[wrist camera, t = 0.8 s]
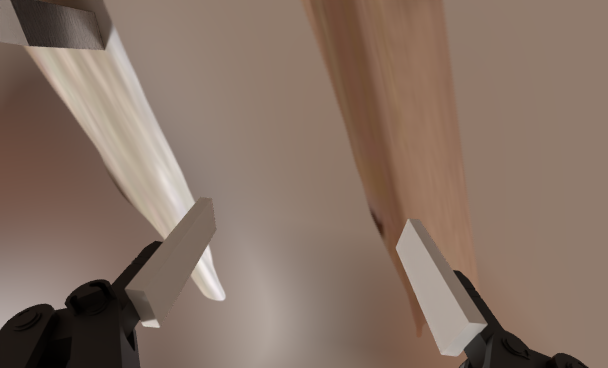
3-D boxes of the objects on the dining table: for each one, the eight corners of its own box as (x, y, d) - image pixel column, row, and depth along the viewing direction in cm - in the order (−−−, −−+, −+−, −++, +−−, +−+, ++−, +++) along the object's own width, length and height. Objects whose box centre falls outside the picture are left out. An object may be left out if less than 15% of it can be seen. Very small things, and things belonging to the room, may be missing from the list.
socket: (36, 4, 31) (-76, -19, 22) (94, 12, 31) (7, -7, 22) (50, 42, 33) (-46, 35, 24) (104, 50, 33) (29, 46, 24)
